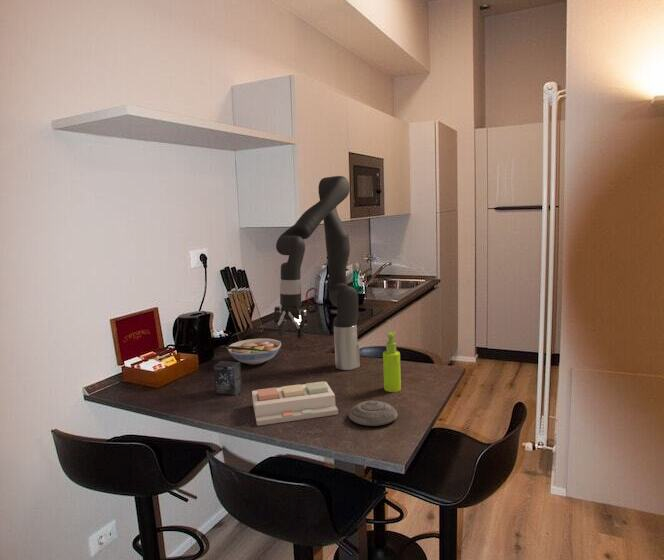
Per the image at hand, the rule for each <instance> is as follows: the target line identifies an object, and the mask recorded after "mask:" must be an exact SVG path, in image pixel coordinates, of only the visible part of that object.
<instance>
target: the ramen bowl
mask: <svg viewBox="0 0 664 560" xmlns="http://www.w3.org/2000/svg"><path fill="white" fill-rule="evenodd" d="M281 347H282V342H281V341H279V340H277V339H274V338H273V339H272V338H251V339H245V340H239V341H236V342H234V343H231V344H230V345H224V344H222V345H221V346H220V345H219V346H218V348H219V349H225V350H227V351H228V353H229V354H230V355H231V356H232V357H233V359H234V360H236V361H237V362H240V363H244V364H247V365H251V366H257V365H261V364H263V363H265V362H266V361H270V360H271V359H273V358H274V357H275V356H276V355H277V354H278V352H279V350H280V349H281Z"/></svg>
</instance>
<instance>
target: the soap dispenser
mask: <svg viewBox="0 0 664 560" xmlns="http://www.w3.org/2000/svg"><path fill="white" fill-rule="evenodd" d="M396 333H397V332H396V331H388V333H387V334H386V335H387V336H386V337H388V339H387V340H388V341H387V342H385V346H386V348H385V349H386V351H383V352H382V365H383V371H382V372H383V390H384V391H385V392H388V393H397V392H399V391H401V390H402V381H401V380H402V376H401V375H402V374H401V352H400V351H398V350H397V342H395V341H394V336H395V334H396Z"/></svg>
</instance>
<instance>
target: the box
mask: <svg viewBox="0 0 664 560" xmlns="http://www.w3.org/2000/svg"><path fill="white" fill-rule="evenodd" d="M213 377H214V386H215V394H216V395H217V394H218V395H228V396H237V395H238V393H240V392H241V391H242V390H243V386H242V385H243V384H242V371H241V362H240V361H237V362H236V361H224V360H223V361H222V360H220V361H219V362H217V363H216V364H214V365H213Z"/></svg>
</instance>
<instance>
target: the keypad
mask: <svg viewBox="0 0 664 560" xmlns="http://www.w3.org/2000/svg"><path fill="white" fill-rule="evenodd" d="M324 383H325V384H326V386H327V388H328V392H326V393H319V394H311V395H308V393H307V391H306V383H305V384H300V385H301V387H302V389H303V396H296V397H288V398H283V395H282V387H283V386H280V387H276V389H277V392H278V399H273V400H265V401H259V400H258V391H257V390H258V389H256V390H252V391H251V394H252V395H251V396H252V406H253V411H254V412H253V413H254V417H255V423H256V426H265V425H272V424H279V423H287V422H292V421H293V422H294V421H301V420H308V419H315V418H320V417H321V418H322V417H329V416H335V415H339V408H338V407H337V406H336V395H335V392H334V391H333V390H332V388H331V387H330V385H329V384H328V382H327V381H324Z"/></svg>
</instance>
